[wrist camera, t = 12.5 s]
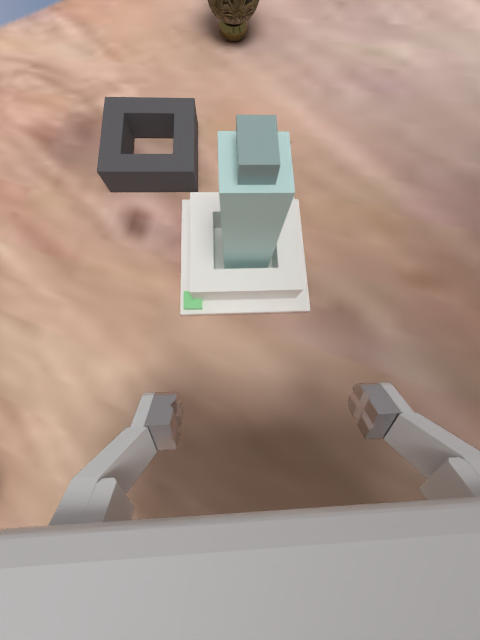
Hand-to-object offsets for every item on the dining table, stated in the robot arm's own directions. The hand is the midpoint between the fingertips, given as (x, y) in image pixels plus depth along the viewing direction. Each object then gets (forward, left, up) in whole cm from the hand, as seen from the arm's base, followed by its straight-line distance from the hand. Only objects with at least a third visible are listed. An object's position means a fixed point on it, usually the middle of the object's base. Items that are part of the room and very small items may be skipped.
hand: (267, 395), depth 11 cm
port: (0, -12, -10) cm, 16 cm away
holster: (+9, -24, -10) cm, 28 cm away
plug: (0, -12, -9) cm, 15 cm away
